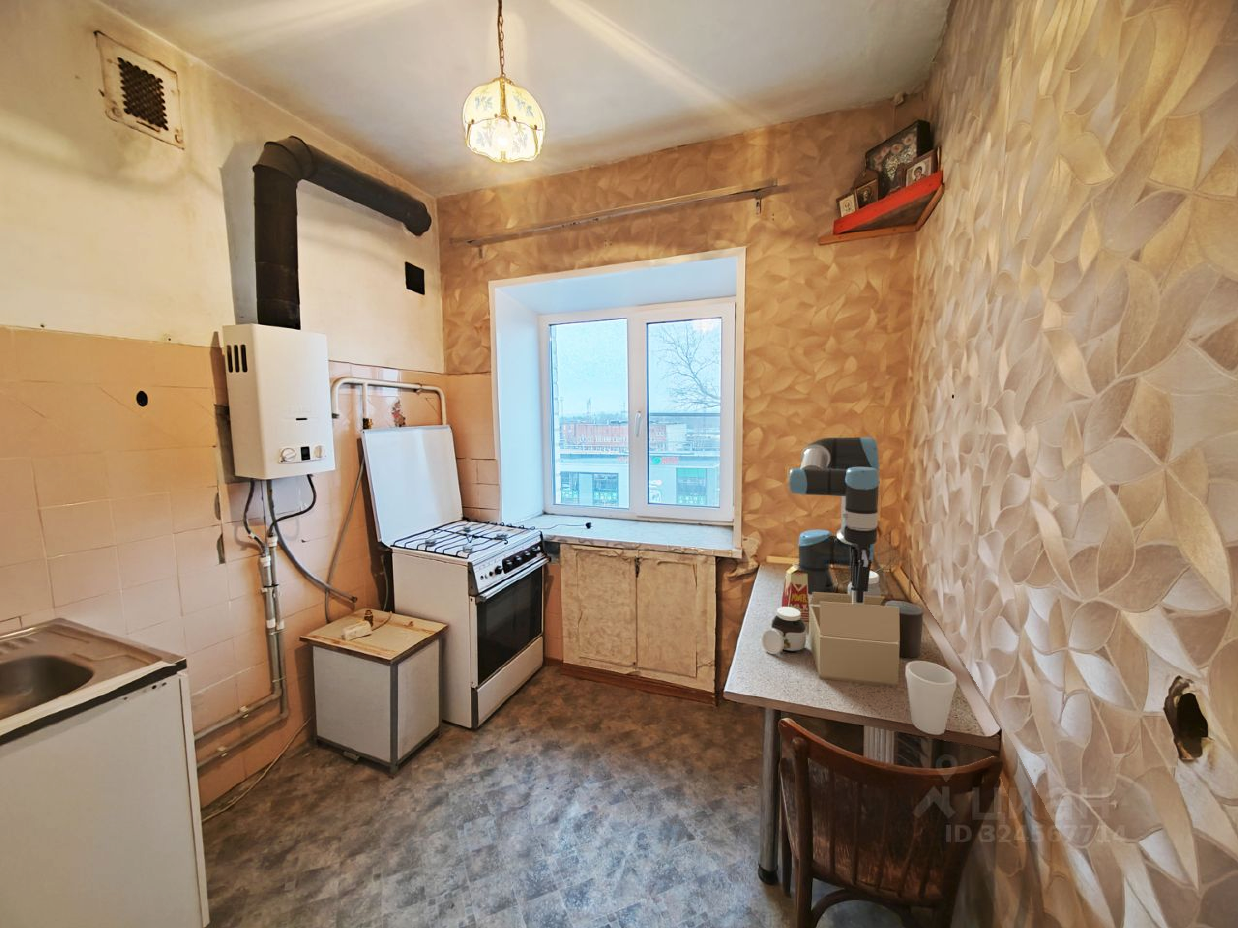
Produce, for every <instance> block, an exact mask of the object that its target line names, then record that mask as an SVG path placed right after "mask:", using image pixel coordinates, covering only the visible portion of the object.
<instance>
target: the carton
mask: <svg viewBox="0 0 1238 928" xmlns="http://www.w3.org/2000/svg"><path fill="white" fill-rule="evenodd" d="M808 644H809V647H810V650H811V654H812V657H813V661H814V664H815V667H816V671H817V675H818V678H819V679H822V680H831V681H840V682H848V683H857V684H866V685H876V686H883V687H884V686H885V687H893V688H899V671H900V669H899V667H900V657H899V647H900V644H899V643H898V642H891V641H880V640H869V639H858V638H847V637H836V636H825V635H820V605H813V604H809V625H808Z"/></svg>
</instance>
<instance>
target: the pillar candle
mask: <svg viewBox="0 0 1238 928" xmlns="http://www.w3.org/2000/svg"><path fill="white" fill-rule="evenodd" d="M884 606H890V607H899V624H900V642H898V643H899V644H900V647H899V659H900V658H901V659H903V660H904V659H905V660H914V659H916V660H917V659H919V658H920V657H921V652H922V651H921V650H922V636H923V634H922V633H923V619H924V617H923V616H924V610H923V609H922V607H920V606H919V605H916V604H913V603H910V602H906V601H900V600H890V601H887V602H885V604H884Z"/></svg>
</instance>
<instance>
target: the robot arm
mask: <svg viewBox="0 0 1238 928" xmlns="http://www.w3.org/2000/svg"><path fill="white" fill-rule="evenodd" d="M800 462H801V464H800V467H798V468H791V469H790V471H789V477H788V479H789V480H788V487H789V491H790V493H792V494H798V495H801V496H802V495H803V496H805V495H807V496H808V495H811V496H831V497H834V496H835V497H836V496H837V497H841V512H840V513H841V516H840V517H841V519H840V529H839V530H837V531H836V535H835V534H834V535H832V533H831V532H830V530H827V529H826V530H825V529H810V530H809V529H808V530H806V531H803V532H801V533H800V535H799V538H798V544H797V546H798V566H799V568H798V569H799V570H801V571H803V572H805V573H807V578H808V594H812V593H813V592H824V593H833V592H834V590H835V584H834V583H835V582H834V580H833V577H832V573H831V571H830V568H831V567H830V566H831V565H832V566H833V565H834V566H841V567H849V575H850V578H849V581H850V582H852V587H851V590H852V604H858V605H864V602H865V592H867V591H868V582H869V574H870V571H871V567H872V563H873V558H874V555H875V553H874V551H875V544H876V543H877V541H878V529H877V527H878V525H879V524H878V522H879V509H878V505H879V504H878V503H879V490H880V489H879V486H880V472H879V471H880V458H879V451H878V442H877V440H876V439H875V438H873V437H864V436H860V437H824V438H820V439H817V440H815V441H813V442H810V443H809V444H807V445H806V446H805V447H804V448H803V450H802V452H801V454H800Z"/></svg>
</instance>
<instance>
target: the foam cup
mask: <svg viewBox="0 0 1238 928" xmlns="http://www.w3.org/2000/svg"><path fill="white" fill-rule="evenodd" d="M904 675H905V678H906V684H907V685H906V686H907V692H908V693H907V694H908V702H909V710H910V718H911V723H912V725H913V726H915V728H916V729H918V730H920V731H921V732H924V733H926V734H930V735H941V734H944V733H945V730H946V727H947V722H948V719H949V716H950V715H949V714H950V710H951V708H952V707H951V706H952V703H953V702H952V701H953V698H954V693H955V691H956V690H957V680H958V679H957V676H955V673H953V672H952V671H951V670H950V669H948V668H947V667H944V666H943V665H940V664H937V663H935V662H934V663H933V662H929V661H926V660H923V661H922V660H913V661H910V662H907V664H906V665H905V674H904Z"/></svg>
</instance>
